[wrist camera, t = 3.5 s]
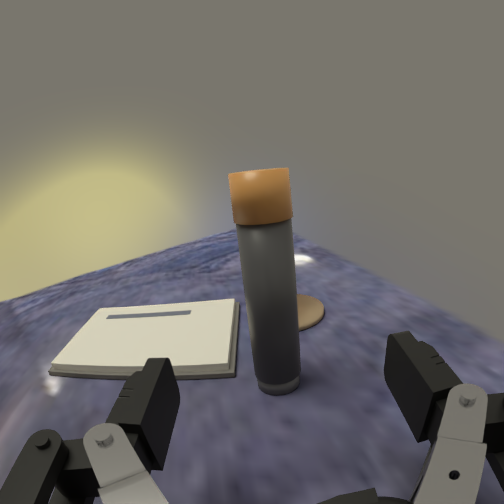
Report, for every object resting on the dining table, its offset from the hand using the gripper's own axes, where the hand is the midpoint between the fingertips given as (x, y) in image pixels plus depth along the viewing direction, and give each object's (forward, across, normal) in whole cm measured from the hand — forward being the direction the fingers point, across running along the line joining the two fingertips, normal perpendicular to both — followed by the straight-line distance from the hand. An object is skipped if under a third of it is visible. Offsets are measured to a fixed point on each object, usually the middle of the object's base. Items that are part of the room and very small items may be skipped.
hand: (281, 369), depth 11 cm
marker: (+8, 0, +7) cm, 11 cm away
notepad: (+15, +11, +7) cm, 20 cm away
